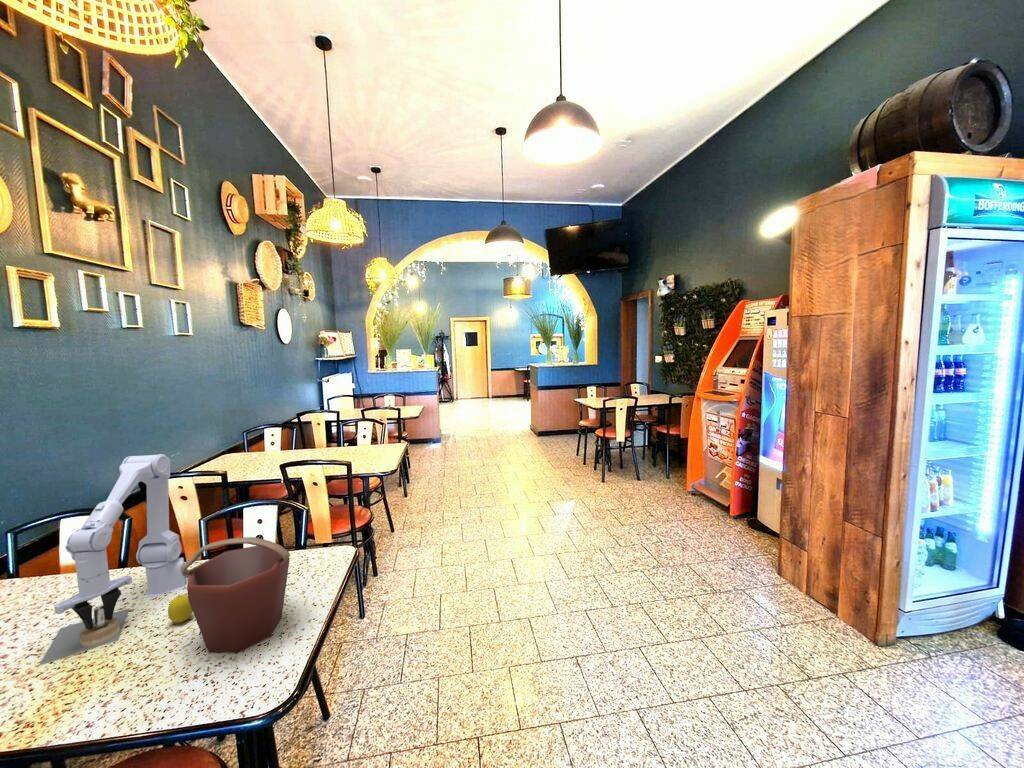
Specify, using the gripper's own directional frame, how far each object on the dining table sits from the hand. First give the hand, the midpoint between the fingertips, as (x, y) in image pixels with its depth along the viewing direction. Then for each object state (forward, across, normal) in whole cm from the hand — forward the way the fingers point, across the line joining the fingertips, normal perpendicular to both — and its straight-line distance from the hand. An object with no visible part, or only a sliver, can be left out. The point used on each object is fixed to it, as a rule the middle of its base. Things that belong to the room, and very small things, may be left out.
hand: (99, 623), depth 108 cm
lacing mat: (+4, 0, -5) cm, 7 cm away
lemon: (+5, -12, +13) cm, 18 cm away
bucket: (+5, -16, +33) cm, 37 cm away
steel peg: (+4, 0, 0) cm, 4 cm away
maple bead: (+4, 0, 0) cm, 4 cm away
